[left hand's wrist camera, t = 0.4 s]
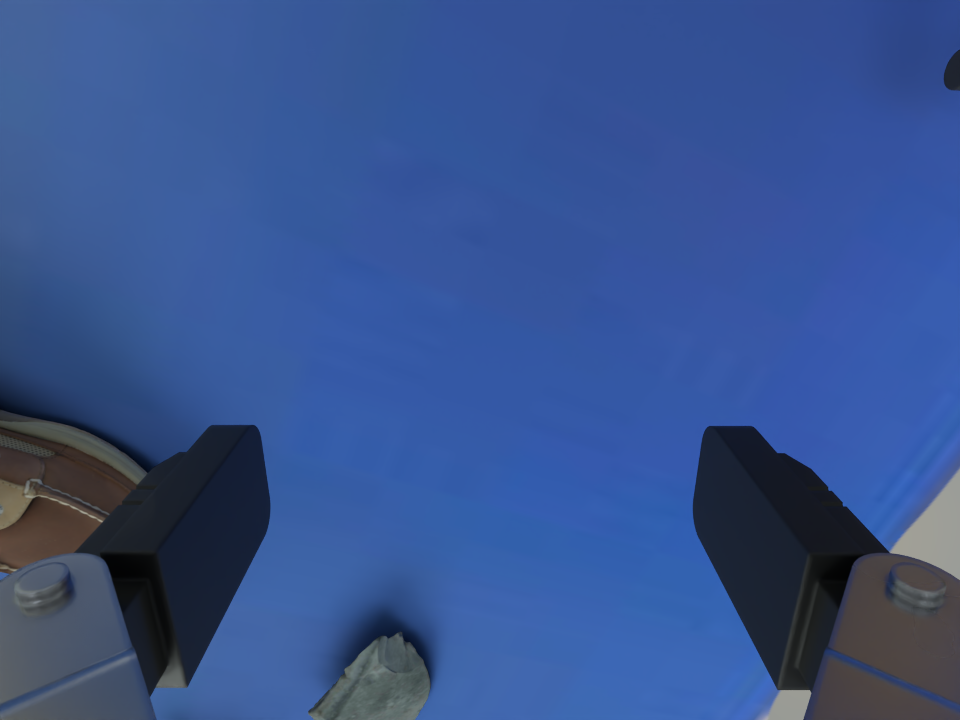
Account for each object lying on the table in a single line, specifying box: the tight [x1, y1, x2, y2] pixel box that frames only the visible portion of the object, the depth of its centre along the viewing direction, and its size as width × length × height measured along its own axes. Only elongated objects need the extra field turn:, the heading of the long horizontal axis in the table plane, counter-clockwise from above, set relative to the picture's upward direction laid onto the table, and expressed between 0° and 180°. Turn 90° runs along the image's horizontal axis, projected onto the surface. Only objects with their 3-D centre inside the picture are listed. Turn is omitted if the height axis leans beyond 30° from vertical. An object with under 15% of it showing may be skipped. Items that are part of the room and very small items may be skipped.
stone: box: [308, 632, 430, 720], centre depth 49 cm, size 11×4×10 cm
